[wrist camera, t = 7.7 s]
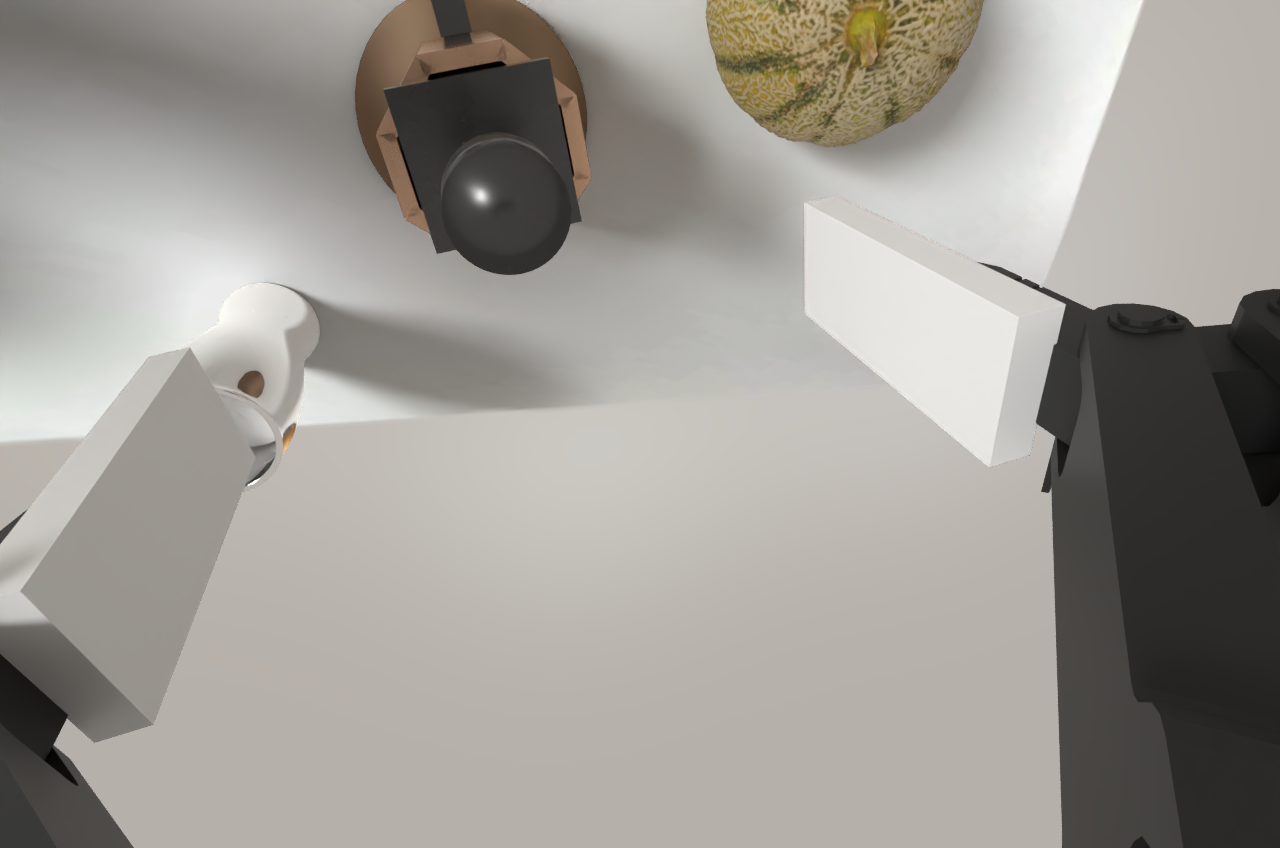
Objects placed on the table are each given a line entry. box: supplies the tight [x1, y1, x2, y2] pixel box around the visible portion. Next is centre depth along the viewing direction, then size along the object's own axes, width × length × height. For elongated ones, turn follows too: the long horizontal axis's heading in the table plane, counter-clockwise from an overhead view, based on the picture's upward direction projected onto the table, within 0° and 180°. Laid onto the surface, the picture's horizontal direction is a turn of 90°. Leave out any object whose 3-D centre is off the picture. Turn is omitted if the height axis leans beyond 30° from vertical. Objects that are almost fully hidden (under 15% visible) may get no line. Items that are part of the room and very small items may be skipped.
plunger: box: [441, 68, 571, 275], centre depth 31 cm, size 6×6×21 cm
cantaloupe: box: [706, 0, 984, 147], centre depth 37 cm, size 15×15×15 cm
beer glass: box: [182, 283, 320, 492], centre depth 39 cm, size 7×7×15 cm
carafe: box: [376, 0, 591, 254], centre depth 35 cm, size 9×12×13 cm
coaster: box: [355, 0, 587, 194], centre depth 42 cm, size 14×14×1 cm
